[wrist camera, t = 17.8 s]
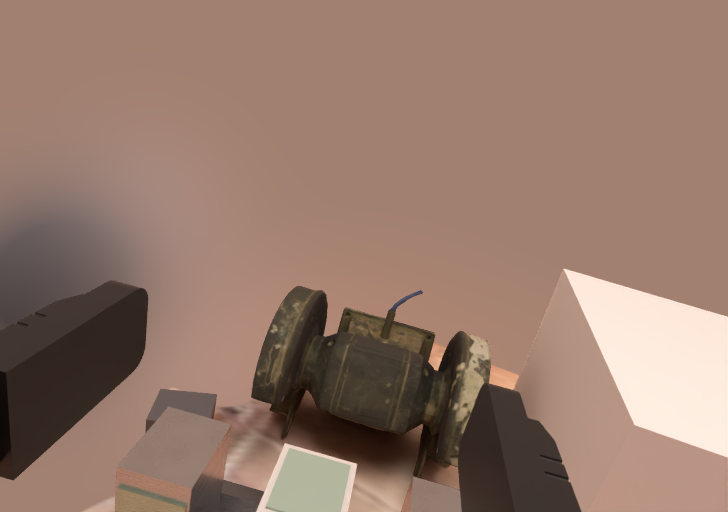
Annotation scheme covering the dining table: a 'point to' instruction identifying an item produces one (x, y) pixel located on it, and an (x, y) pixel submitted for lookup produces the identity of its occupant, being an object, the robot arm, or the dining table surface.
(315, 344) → the bench grinder
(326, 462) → the block
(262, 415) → the dining table surface
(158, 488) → the rail
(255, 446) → the dining table surface
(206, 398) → the relay
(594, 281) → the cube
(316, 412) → the dining table surface
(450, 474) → the dining table surface
